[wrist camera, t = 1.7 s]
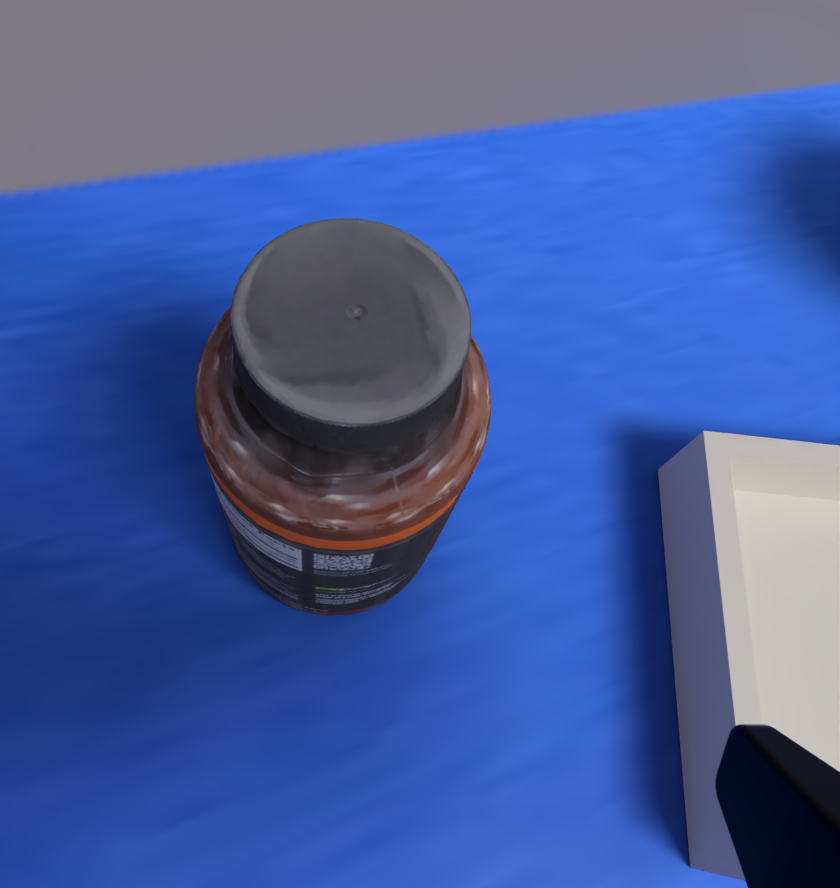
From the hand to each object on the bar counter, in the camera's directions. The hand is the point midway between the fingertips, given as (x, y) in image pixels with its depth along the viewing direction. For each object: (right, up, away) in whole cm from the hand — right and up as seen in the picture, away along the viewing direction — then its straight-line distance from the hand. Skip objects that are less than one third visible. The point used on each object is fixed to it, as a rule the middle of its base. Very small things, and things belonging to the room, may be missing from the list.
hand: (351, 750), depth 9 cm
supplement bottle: (-2, +1, +14) cm, 14 cm away
